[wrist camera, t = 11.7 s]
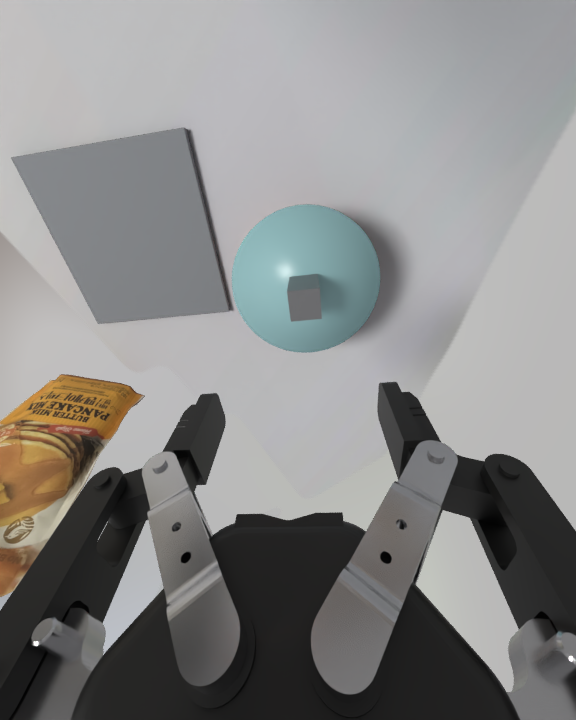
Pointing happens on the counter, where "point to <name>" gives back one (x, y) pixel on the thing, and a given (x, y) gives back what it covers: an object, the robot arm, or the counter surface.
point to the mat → (130, 225)
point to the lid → (306, 278)
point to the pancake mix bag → (51, 461)
